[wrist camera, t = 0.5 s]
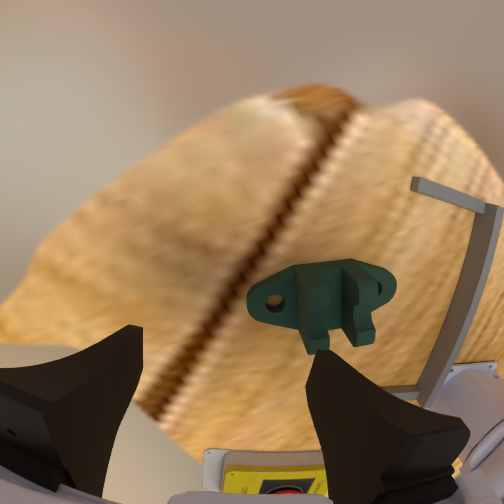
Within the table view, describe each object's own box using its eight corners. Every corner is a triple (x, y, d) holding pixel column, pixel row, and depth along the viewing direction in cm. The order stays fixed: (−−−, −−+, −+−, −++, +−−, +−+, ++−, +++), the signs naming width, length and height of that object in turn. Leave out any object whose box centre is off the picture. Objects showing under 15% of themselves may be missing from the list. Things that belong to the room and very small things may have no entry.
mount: (390, 252, 21) (426, 273, 17) (387, 307, 22) (418, 336, 18) (243, 269, 21) (245, 298, 16) (249, 327, 22) (253, 366, 17)
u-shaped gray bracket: (485, 204, 20) (504, 208, 18) (419, 392, 25) (430, 407, 23) (412, 176, 20) (431, 178, 17) (346, 395, 24) (354, 414, 22)
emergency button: (330, 513, 25) (199, 515, 24) (323, 487, 29) (201, 486, 28) (358, 474, 23) (200, 476, 22) (347, 444, 27) (203, 443, 26)
